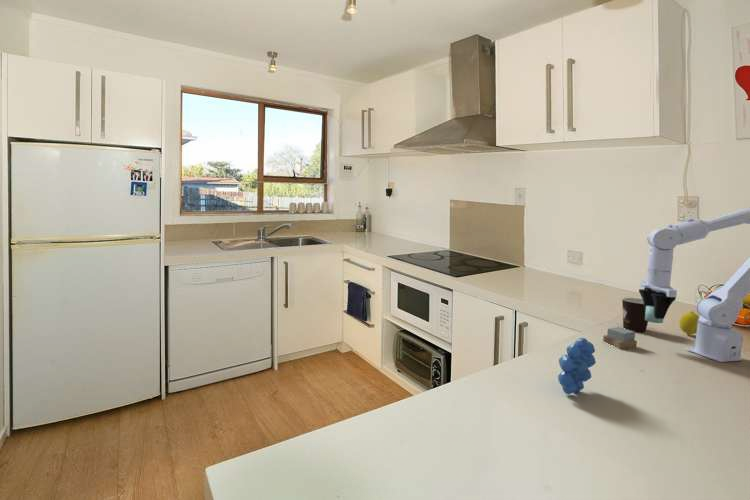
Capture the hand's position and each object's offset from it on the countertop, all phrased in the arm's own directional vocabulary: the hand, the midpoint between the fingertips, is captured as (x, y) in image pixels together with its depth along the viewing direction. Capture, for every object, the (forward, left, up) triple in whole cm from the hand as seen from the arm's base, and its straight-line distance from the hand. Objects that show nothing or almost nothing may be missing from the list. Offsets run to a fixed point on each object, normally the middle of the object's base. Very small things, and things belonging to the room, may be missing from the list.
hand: (654, 316), depth 117 cm
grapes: (-20, +44, -10) cm, 49 cm away
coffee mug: (+16, -11, -10) cm, 22 cm away
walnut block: (+3, +8, -10) cm, 13 cm away
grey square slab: (+3, +8, -7) cm, 11 cm away
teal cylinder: (0, 0, -2) cm, 2 cm away
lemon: (+7, -23, -10) cm, 26 cm away
